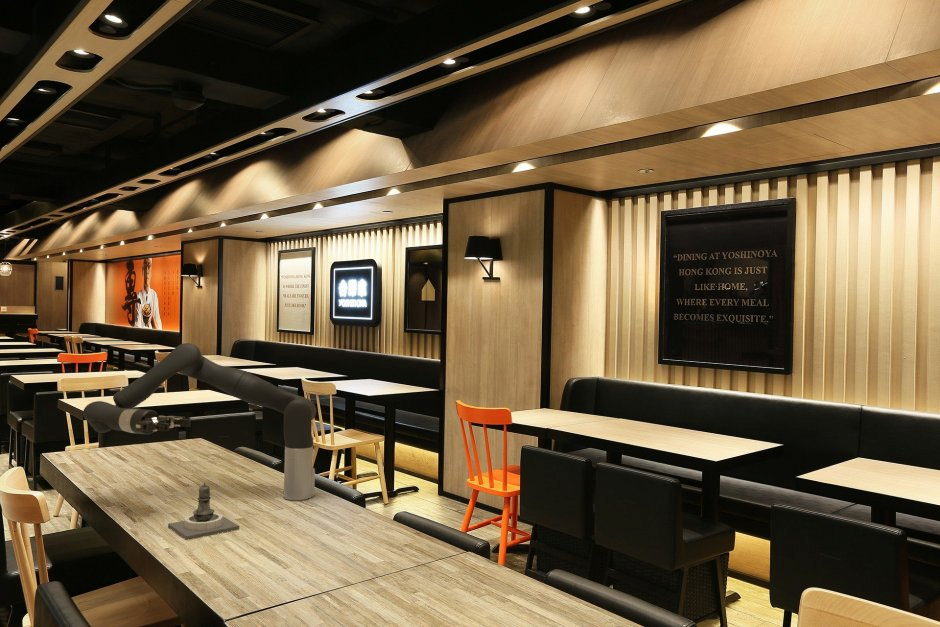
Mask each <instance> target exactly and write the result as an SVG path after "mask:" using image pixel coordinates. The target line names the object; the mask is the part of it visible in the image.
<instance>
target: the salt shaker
mask: <svg viewBox="0 0 940 627" xmlns="http://www.w3.org/2000/svg"><path fill="white" fill-rule="evenodd" d="M198 488H199V489H198V497H197V500H198V501H197V503H198V506H197V509H195V510H193V511H192V515H193V514H194V517H195V519H196V520H197V522H208V521H210V519H211V518H212V516H213V513H216V512H215V509H213V508H211V506H210V505H211V504H210V503H211V502H210V501H211V498H212V497H210V496H211V495H210V494H211V493H210V486H208V485H207V483H206V482H203V484H202V485H201V486H200V487H198Z"/></svg>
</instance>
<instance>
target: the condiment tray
mask: <svg viewBox="0 0 940 627" xmlns="http://www.w3.org/2000/svg"><path fill="white" fill-rule="evenodd" d="M167 527H168V528H169V529H170V528H171V529H172V532H174V531H175V532H174V533H176V535H178V534H179V536H180V537H181V536H182V537H181V538H183V539H184V538H185V539H184V540H186V541H187V540H188V539H189V540H194V539H198V538H203V536H204V537H208V536H212V535H217V534H218V533H219V534H223V533H227V531H228V532H232V531H231V530H233V531H237V529H238V530H240V525H239V524H237V523H235V522H234V521H232V520H230V519H229V518H227V517H225V516H224V515H222V514H221V513H217V512H214V513H213V516H212V518H211V519H210V521H208V522H197V520H196V519H195V517H194V514H193V513H192V514H191V515H188V516H186V517H185V519H184V520H181V521H175V522H171V523H170V522H169V523H168V524H167ZM171 529H170V530H171ZM222 532H223V533H222ZM193 538H194V539H193ZM189 540H188V541H189Z"/></svg>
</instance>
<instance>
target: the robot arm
mask: <svg viewBox="0 0 940 627" xmlns="http://www.w3.org/2000/svg"><path fill="white" fill-rule="evenodd" d="M178 373H180V374H181V375H184V376H186V377H189V378H192V379H195V380H198V381H201V382H203V383H207V384H209V385H211V386H213V387H214V388H216V389H219V390H221V391H222V392H223V393H226V394H228V395H230V396H232V397H234V398H237V399H239V400H240V401H243V402H246V403H248V404H251V405H255V406H260V407H264V408H269V409H273V410H275V411H276V412H279V413H280V414H283V439H284V469H283V470H284V473H283V474H284V477H283V479H284V480H283V499H285V500H288V501H304V500H308V498H309V499H311V498H312V497H313V498H314V497H315V486H316V484H315V482H316V481H315V480H316V479H315V478H316V475H315V474H316V469H315V467H314V466H313V464H314V461H313V460H314V459H313V458H314V437H313V435H312V426H313V425H312V422H313V420H314V419H315V417H316V416H317V408H316V405H315V403H314V402H313V401H312V400H311V399H310V398H306V397H304V396H301V395H298V394H295V393H292V392H289V391H287V390H284V389H281V388H279V386H276V385H274V384H272V383H271V382H268V381H266V380H264V379H262V378H260V377H258V376H257V375H254V374H252V373H250V372H248V371H246V370H242V369H241V368H236V367H229V366H224V365H220V364H218V363H216V362H213V361H212V360H210V359H208V358H207V357H206V356H203V354H202V352H201V351H200V348H199V347H198V346H197V345H196V344H194V343H191V342H186V343H184V342H183V343H181V344H179V345H177V346H176V347H175V348H174V349H173V350H171V352H169V353H168V354H167V355H166V356H165V357H164V358H163V359H162V360H160V361H159V362H157V364H156V365H154V366H153V367H151V369H149V370H148V371H147V372H145V373H144V374H142V375H141V376H140V377H138V378H136V379H135V380H134V381H132V382H131V383H130V384H128V385H126V386H125V387H124V388H121V389H120V390H119V391H117V392H116V393H114V394H113V396H112V400H113V402H114V404H112V403H110V402H107V401H102V400H98V401H97V400H96V401H91V402H90V403H89V404H87V405H86V406H85V407H84V408H83V412H82V416H83V418H84V420H85V421H86V422H87V423H88V424H89V425H90V426H91V427H92V428H93V430H94V431H95V432H96V433H99V434H100V433H101V434H104V433H107V432H110V431H112V430H115V431H119V432H120V431H121V432H127V433H131V434H138V435H139V434H140V435H145V436H146V435H151V434H153V433H155V432H157V431H159V432H169V431H170V429H173V428H174V427H184V428H190V427H191V426H192V420H191V419H187V418H186V417H185V416H180V415H179V416H177V415H168V416H165V415H159V414H158V412H156V411H155V410H153V409H144V408H136V407H137V406H139V405H140V404H141V403H143V402H145V401H147V399H149V398H150V396H153V394H154V393H155V392H156V390H158V389H159V388H160V386H162V384H163V383H165V381H167V380H168V379H169V378H171V377H173V376H175V375H176V374H178Z"/></svg>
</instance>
